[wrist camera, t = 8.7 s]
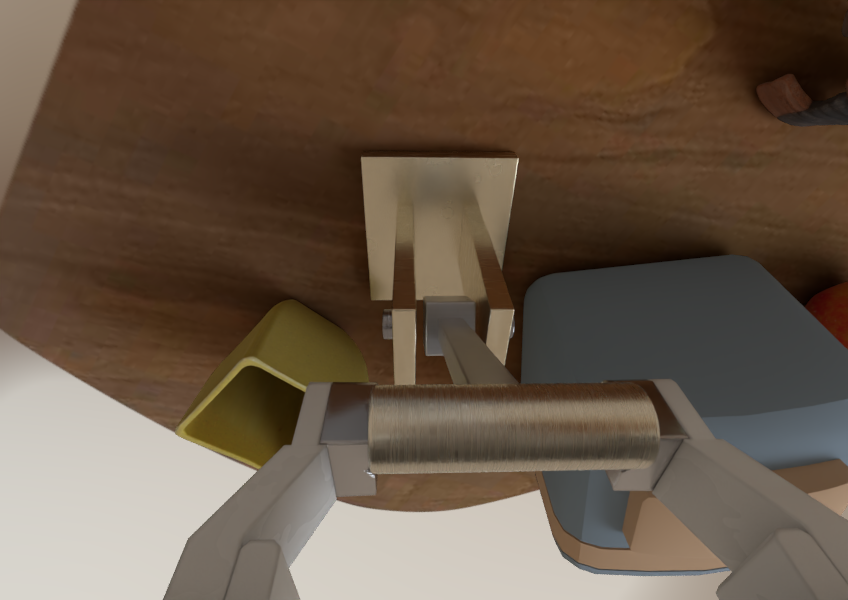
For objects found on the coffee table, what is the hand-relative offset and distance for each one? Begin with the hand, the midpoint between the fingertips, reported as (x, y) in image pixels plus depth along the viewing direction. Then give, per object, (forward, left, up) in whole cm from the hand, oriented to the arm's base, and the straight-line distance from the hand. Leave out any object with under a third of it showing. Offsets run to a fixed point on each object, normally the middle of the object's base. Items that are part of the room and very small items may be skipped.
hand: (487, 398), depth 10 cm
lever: (+1, 0, -4) cm, 5 cm away
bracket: (+5, 0, -19) cm, 20 cm away
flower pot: (+14, -10, -19) cm, 26 cm away
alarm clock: (+15, +15, -19) cm, 28 cm away
